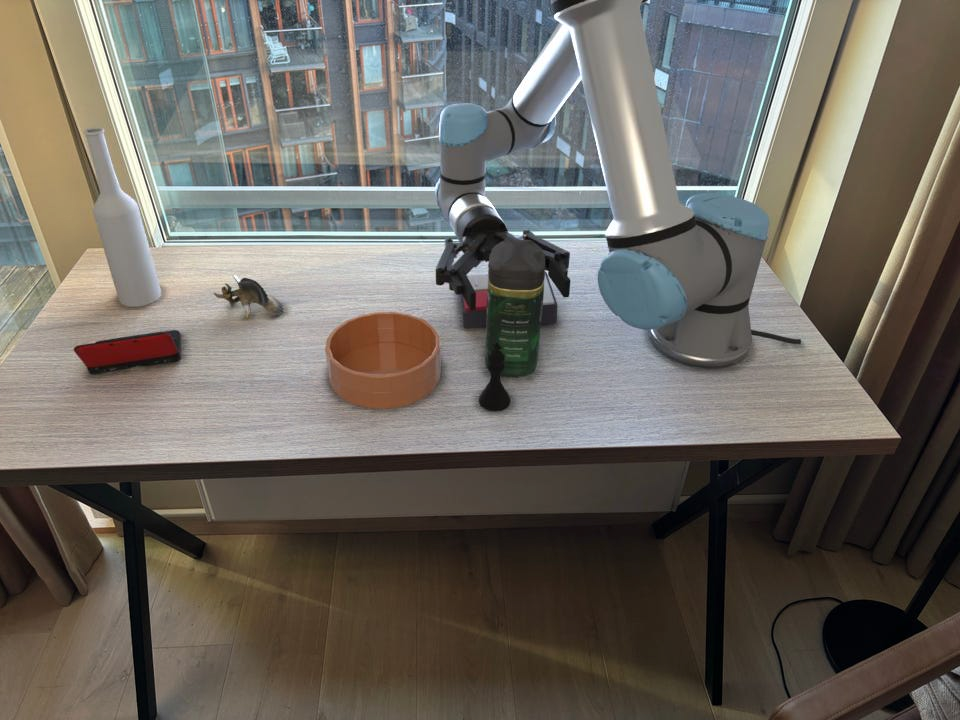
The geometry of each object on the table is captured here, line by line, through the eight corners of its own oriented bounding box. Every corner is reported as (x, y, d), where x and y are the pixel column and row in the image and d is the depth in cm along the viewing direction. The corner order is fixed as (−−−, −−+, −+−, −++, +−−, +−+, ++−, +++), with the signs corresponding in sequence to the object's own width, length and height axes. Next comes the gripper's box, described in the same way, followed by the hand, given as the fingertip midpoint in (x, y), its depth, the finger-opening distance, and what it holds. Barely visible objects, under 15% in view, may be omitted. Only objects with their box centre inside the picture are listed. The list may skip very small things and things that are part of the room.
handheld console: (182, 334, 119) (171, 293, 114) (181, 375, 110) (169, 333, 106) (94, 346, 115) (79, 304, 111) (86, 390, 107) (70, 346, 103)
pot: (453, 351, 116) (453, 320, 113) (421, 417, 104) (420, 385, 101) (354, 334, 119) (351, 304, 116) (311, 397, 107) (306, 366, 104)
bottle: (168, 287, 129) (126, 123, 113) (149, 308, 124) (102, 139, 108) (131, 284, 130) (84, 120, 114) (111, 304, 125) (58, 136, 108)
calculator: (456, 273, 128) (546, 266, 129) (458, 295, 130) (545, 288, 131) (462, 309, 119) (558, 301, 120) (463, 332, 122) (557, 324, 123)
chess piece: (494, 387, 109) (497, 329, 104) (516, 402, 107) (520, 343, 101) (472, 400, 107) (473, 341, 101) (494, 416, 104) (496, 356, 98)
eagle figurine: (215, 319, 120) (268, 315, 118) (211, 273, 120) (264, 268, 118) (239, 319, 127) (290, 315, 126) (235, 276, 127) (286, 271, 125)
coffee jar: (537, 382, 111) (546, 269, 100) (482, 378, 111) (485, 265, 100) (538, 343, 118) (547, 234, 107) (487, 340, 119) (490, 231, 108)
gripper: (550, 239, 127) (601, 306, 111) (401, 257, 121) (432, 330, 105) (554, 197, 123) (608, 260, 106) (399, 213, 117) (431, 283, 100)
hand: (521, 295), depth 105 cm, fingers open, 13 cm apart
